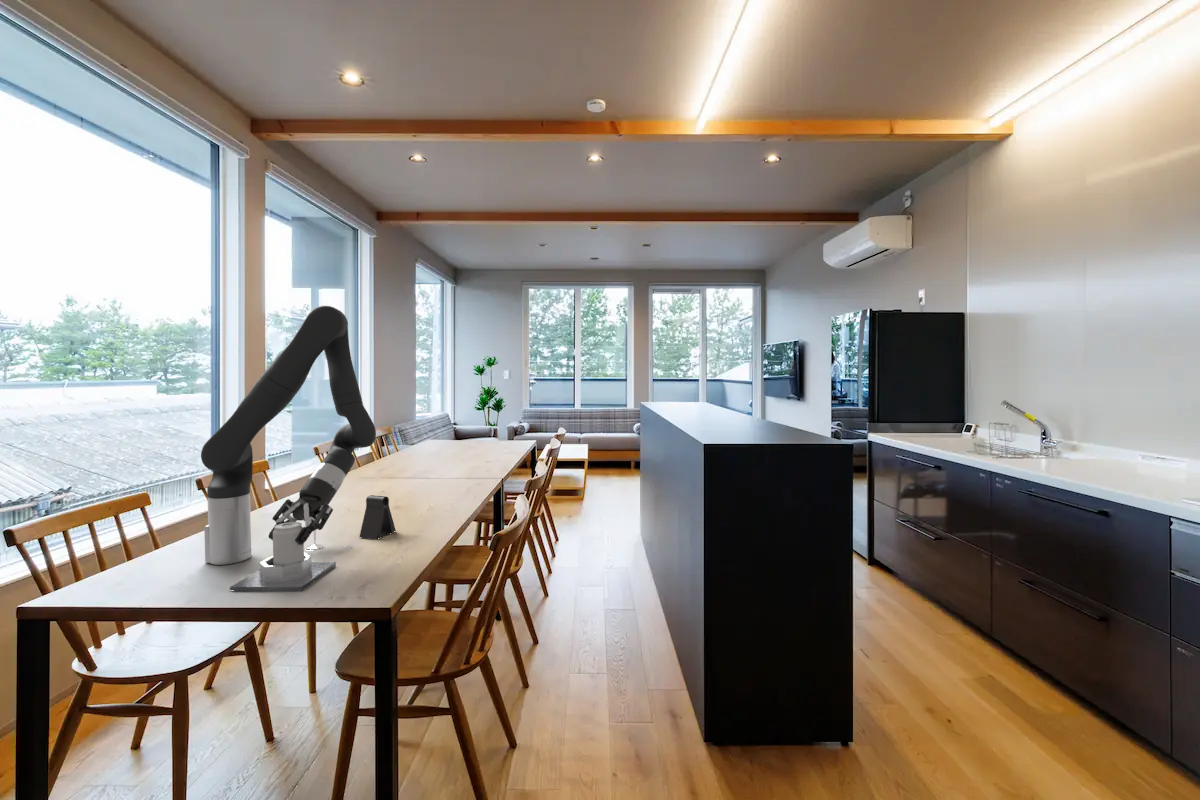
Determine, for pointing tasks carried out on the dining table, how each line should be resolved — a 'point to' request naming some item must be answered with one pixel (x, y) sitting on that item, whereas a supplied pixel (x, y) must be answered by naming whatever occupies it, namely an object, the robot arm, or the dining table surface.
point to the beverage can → (287, 544)
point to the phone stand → (377, 518)
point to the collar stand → (284, 576)
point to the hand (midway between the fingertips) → (284, 541)
